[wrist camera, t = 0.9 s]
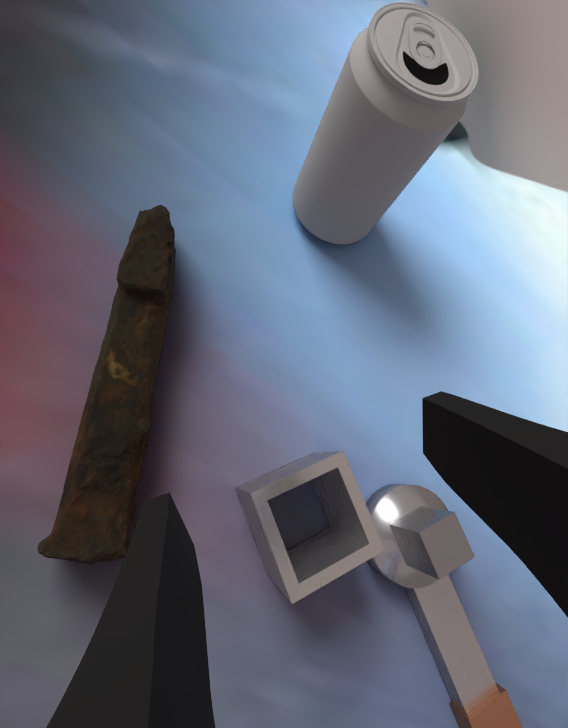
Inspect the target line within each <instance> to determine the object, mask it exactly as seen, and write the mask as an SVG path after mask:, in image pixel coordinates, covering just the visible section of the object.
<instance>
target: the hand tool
mask: <svg viewBox="0 0 568 728" xmlns="http://www.w3.org/2000/svg"><path fill="white" fill-rule="evenodd" d="M174 237H175V234H174V228H173V227H172V225H171V221H170V214H169V211H168V210H167V208H166V207H164V206H162V205H159V206H156V207H154V208H152V209H150V210H144V211H140V212H139V215H138V217H137V220H136V223H135V225H134V228H133V230H132V232H131V235H130V237H129V243H128V245H127V248H126V250H125V252H124V254H123V257H122V259H121V261H120V264H119V268H118V274H117V281H118V288H117V291H116V294H115V297H114V301H113V305H112V309H111V314H110V318H109V322H108V326H107V331H106V335H105V337H104V339H103V342H102V346H101V351H100V355H99V358H98V361H97V364H96V366H95V370H94V373H93V377H92V382H91V386H90V389H89V393H88V397H87V400H86V404H85V408H84V411H83V415H82V419H81V423H80V426H79V430H78V434H77V438H76V441H75V445H74V448H73V452H72V456H71V460H70V464H69V468H68V472H67V476H66V480H65V484H64V491H63V494H62V498H61V501H60V505H59V509H58V513H57V517H56V520H55V523H54V527H53V530H52V532H51V534H50V535H49V536H48V537H47V538H45V539H44V540H42V541H41V542H40V543H39V545H38V549H37V550H38V553H40V554H42V555H43V556H45V557H47V558H55V559H62V560H69V561H76V562H81V563H86V564H94V563H97V562H103V561H113V560H115V559H119V558H125V556H126V553H127V550H128V547H129V544H130V542H131V537H130V534H129V530H128V527H129V525H130V523H131V521H132V519H133V516H134V514H135V509H136V508H135V505H134V503H133V498H134V494H135V492H136V488H137V483H138V477H139V475H140V473H141V469H142V457H143V456H144V453H145V452H146V448H147V444H146V441H147V438H148V437H149V435H150V433H151V423H150V413H151V405H152V400H153V394H154V389H155V383H156V377H157V371H158V365H159V360H160V356H161V351H162V346H163V340H164V335H165V329H166V323H167V316H168V313H169V310H170V305H171V300H172V287H173V281H174V270H175V252H176V250H175V248H174Z"/></svg>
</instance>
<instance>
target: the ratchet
mask: <svg viewBox="0 0 568 728" xmlns="http://www.w3.org/2000/svg"><path fill="white" fill-rule="evenodd" d="M366 506H367V508H368V511H369V513H370V516H371V518H372V520H373V523H374V525H375V528H376V530H377V532H378V535H379V537H380V540H381V542H382V544H383V547H384V549H385V550H384V551H383V552H381V553H379V554H377V555H376V556H374V557H372V558H371V559H369V560H367V561H368V562H369V564H370V565H371V566H372V567H373V568H374V569H375V570H376V571H377V572H378V573H379V574H381V575H382V576H384V577H386V578H388V579H389V580H391V581H393V582H395V583H397V584H399V585H401V586H404V587H405V590H406V592H407V595H408V597H409V599H410V602H411V604H412V606H413V609H414V611H415V614H416V616H417V618H418V621H419V623H420V626H421V628H422V630H423V633H424V635H425V638H426V640H427V642H428V645H429V647H430V650H431V652H432V654H433V657H434V659H435V662H436V664H437V666H438V669H439V671H440V674H441V676H442V678H443V681H444V683H445V685H446V688H447V690H448V693H449V695H450V697H451V700H452V702H451V703H450V706H451V708H452V711H453V713H454V715H455V718H456V720H457V723H458V725H459V727H460V728H522V726H521V723H520V721H519V719H518V716H517V714H516V712H515V710H514V707H513V705H512V703H511V701H510V698H509V696H508V694H507V691H506V690H505V689H504V688H502V687H501V686H499V685H498V684H497V683H495V681H494V678H493V676H492V674H491V671H490V669H489V667H488V665H487V662H486V660H485V658H484V655H483V653H482V651H481V648H480V646H479V644H478V642H477V639H476V637H475V635H474V632H473V630H472V628H471V626H470V623H469V621H468V619H467V616H466V614H465V612H464V609H463V607H462V605H461V603H460V600H459V598H458V596H457V593H456V591H455V589H454V587H453V584H452V582H451V580H450V577H449V575H448V574H449V573H451V572H452V571H454V570H455V569H457V568H458V567H460V566H461V565H463V564H465V563H466V562H468V561H469V560H471V559H472V558H474V557H475V556H474V554H473V552H472V550H471V547H470V545H469V543H468V541H467V539H466V536H465V534H464V532H463V530H462V527H461V525H460V523H459V521H458V518H457V516H456V514H455V512H452V511H448V509H447V507H446V506H445V504H444V503H443V502H442V501H441V499H440V498H439V497H438V496H437V495H436V494H434V493H433V492H431V491H430V490H428V489H426V488H424V487H421V486H416V485H407V484H391V485H387V486H384V487H382V488H380V489H379V490H377V491H376V492H375V493H374V494H372V496H371V497H370V498H369V499H368V501H367V502H366Z"/></svg>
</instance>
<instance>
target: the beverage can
mask: <svg viewBox="0 0 568 728" xmlns="http://www.w3.org/2000/svg"><path fill="white" fill-rule="evenodd" d="M477 81H478V64H477V61H476V58H475V55H474V53H473V51H472V49H471V47H470V45H469V44H468V42H467V41H466V39H465V38H464V37H463V36H462V34H461V33H460V32H459V31H458V30H457V29H456V28H455V27H454V26H453V25H452V24H451V23H450V22H448V21H447V20H446V19H444V18H443V17H441V16H440V15H438V14H437V13H435V12H433V11H431V10H429V9H427V8H425V7H422V6H419V5H415V4H411V3H392V4H388V5H385V6H383V7H382V8H380V9H379V10H378V11H377V12H376V13H375V14H374V16H373V17H372V20H371V22H370V24H369V27H368V28H366V29H365V30H363V31H362V32H361V33H360V34H359V35H358V36H357V37H356V38H355V40H354V42H353V44H352V46H351V49H350V51H349V53H348V56H347V58H346V61H345V63H344V66H343V68H342V71H341V73H340V75H339V78H338V80H337V83H336V85H335V88H334V90H333V93H332V95H331V98H330V100H329V102H328V105H327V107H326V110H325V112H324V115H323V117H322V120H321V122H320V125H319V127H318V129H317V132H316V134H315V137H314V139H313V142H312V144H311V147H310V149H309V152H308V154H307V156H306V159H305V161H304V164H303V166H302V169H301V171H300V174H299V176H298V179H297V181H296V183H295V186H294V190H293V206H294V209H295V212H296V215H297V217H298V218H299V220H300V222H301V223H302V224H303V226H304V227H305V228H306V229H307V230H308V231H309V232H311V233H312V234H313V235H315V236H317V237H318V238H320V239H322V240H324V241H326V242H329V243H333V244H351V243H354V242H357V241H359V240H361V239H362V238H364V237H365V236H366V235H367V234H368V233H369V232H370V231H371V229H372V228H373V227H374V226H375V224H376V223H377V222H378V221H379V219H380V218H381V217H382V216H383V214H384V213H385V212H386V211H387V209H388V208H389V207H390V206H391V205H392V203H393V202H394V201H395V200H396V198H397V197H398V196H399V195H400V193H401V192H402V191H403V190H404V188H405V187H406V186H407V185H408V183H409V182H410V181H411V180H412V178H413V177H414V176H415V175H416V173H417V172H418V171H419V170H420V169H421V167H422V166H423V165H424V164H425V162H426V161H427V160H428V159H429V157H430V156H431V155H432V154H433V152H434V151H435V150H436V149H437V147H438V146H439V145H440V144H441V142H442V141H443V140H444V139H445V137H446V136H447V135H448V134H449V133H450V131H451V130H452V129H453V128H454V126H455V125H456V124H457V123H458V121H459V120H460V119H461V117H462V116H463V114H464V111H465V109H466V105H467V99H468V96H469V95H470V93H471V92H472V91H473V90H474V88H475V86H476V84H477Z"/></svg>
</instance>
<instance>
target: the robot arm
mask: <svg viewBox="0 0 568 728" xmlns="http://www.w3.org/2000/svg"><path fill="white" fill-rule="evenodd" d="M423 453H424V455H425V456H426V457H427V459H428V460H429V462H430V463H431V464H432V466H433V467H434V468H435V470H436V471H437V472H438V473H439V475H440V476H441V477H442V478H443V480H444V481H445V482H446V483H447V484H448V485H449V486H450V488H451V489H452V490H453V491H454V492H455V493H456V494H457V495H458V496H459V497H460V498H461V499H462V500H463V501H464V502H465V503H466V504H467V505H468V506H469V507H470V508H471V509H472V510H473V511H474V512H475V513H476V514H477V515H478V516H479V517H480V518H481V519H482V520H483V521H484V522H485V523H486V524H487V525H488V526H489V527H490V528H491V529H492V530H493V531H494V532H495V533H496V534H497V535H498V536H499V537H500V538H501V539H502V540H503V541H504V542H505V543H506V544H507V545H508V546H509V548H510V549H511V550H512V551H513V552H514V553H515V554H516V555H517V556H518V557H519V558H520V559H521V561H522V562H523V563H524V564H525V565H526V566H527V568H528V569H529V570H530V571H531V572H532V574H533V575H534V576H535V577H536V579H537V580H538V581H539V582H540V583H541V585H542V586H543V587H544V588H545V589H546V591H547V592H548V593H549V594H550V595H551V597H552V598H553V599H554V600H555V602H556V603H557V604H558V606H559V607H560V608H561V609H562V611H563V612H564V613H565V614H566V616H567V617H568V432H565V431H561V430H558V429H555V428H551V427H548V426H545V425H541V424H538V423H535V422H532V421H529V420H526V419H522V418H519V417H516V416H513V415H510V414H507V413H505V412H502V411H499V410H496V409H493V408H490V407H487V406H484V405H481V404H478V403H476V402H473V401H470V400H467V399H464V398H461V397H458V396H455V395H452V394H448V393H445V392H438V393H436V394H433V395H430V396H428V397H425V398H423ZM46 728H215V723H214V717H213V709H212V700H211V692H210V681H209V668H208V655H207V643H206V630H205V618H204V606H203V594H202V584H201V579H200V573H199V568H198V563H197V558H196V553H195V548H194V544H193V542H192V540H191V538H190V536H189V533H188V531H187V529H186V527H185V525H184V523H183V521H182V518H181V516H180V514H179V512H178V510H177V508H176V506H175V503H174V501H173V499H172V497H171V495H170V493H167V494H164V495H161V496H159V497H156V498H153V499H151V500H148V501H145V502H144V504H143V505H142V507H141V511H140V514H139V517H138V520H137V524H136V527H135V530H134V533H133V536H132V539H131V542H130V544H129V547H128V550H127V553H126V556H125V559H124V561H123V564H122V566H121V569H120V572H119V574H118V577H117V580H116V582H115V585H114V587H113V590H112V592H111V595H110V597H109V600H108V602H107V604H106V607H105V609H104V611H103V614H102V616H101V618H100V620H99V623H98V625H97V627H96V630H95V632H94V634H93V637H92V639H91V641H90V643H89V645H88V647H87V650H86V652H85V654H84V656H83V658H82V660H81V662H80V664H79V666H78V668H77V670H76V672H75V674H74V676H73V678H72V680H71V682H70V684H69V686H68V688H67V690H66V692H65V694H64V696H63V698H62V700H61V702H60V704H59V706H58V707H57V709H56V711H55V713H54V715H53V717H52V718H51V720H50V722H49V724H48V726H47V727H46Z"/></svg>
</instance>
